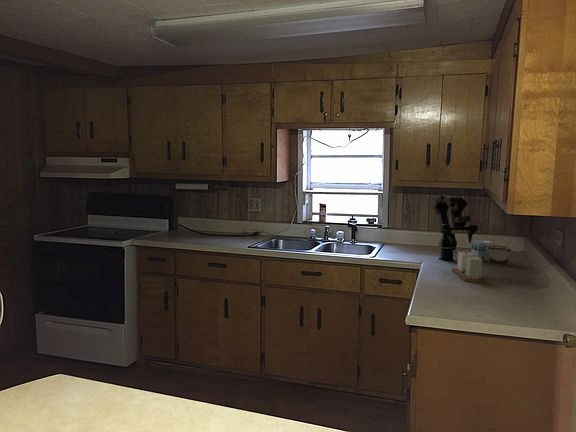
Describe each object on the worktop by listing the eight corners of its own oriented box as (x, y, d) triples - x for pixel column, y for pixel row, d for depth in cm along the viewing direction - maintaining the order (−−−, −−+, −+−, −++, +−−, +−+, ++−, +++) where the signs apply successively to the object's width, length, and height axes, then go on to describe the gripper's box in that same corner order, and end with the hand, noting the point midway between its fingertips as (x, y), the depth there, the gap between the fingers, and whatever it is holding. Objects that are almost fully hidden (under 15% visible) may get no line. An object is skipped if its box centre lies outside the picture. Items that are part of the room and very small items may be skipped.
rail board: (451, 270, 255) (452, 266, 255) (470, 271, 255) (471, 266, 254) (464, 281, 234) (464, 276, 234) (485, 281, 234) (485, 276, 233)
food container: (511, 264, 273) (512, 246, 272) (510, 266, 268) (511, 248, 267) (488, 261, 279) (489, 244, 278) (486, 263, 274) (487, 246, 273)
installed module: (465, 274, 240) (466, 256, 239) (476, 275, 240) (477, 257, 238) (469, 277, 234) (470, 259, 233) (481, 278, 234) (482, 259, 232)
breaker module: (457, 268, 253) (458, 248, 252) (467, 268, 253) (469, 249, 251) (461, 271, 246) (462, 251, 245) (472, 271, 246) (473, 251, 244)
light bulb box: (477, 261, 280) (478, 242, 278) (470, 258, 286) (471, 240, 285) (493, 260, 282) (494, 242, 281) (485, 257, 289) (486, 240, 287)
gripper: (443, 209, 257) (447, 235, 250) (479, 210, 257) (484, 236, 249) (438, 219, 267) (442, 245, 259) (472, 220, 267) (477, 245, 259)
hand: (461, 242), depth 256 cm, fingers open, 9 cm apart
